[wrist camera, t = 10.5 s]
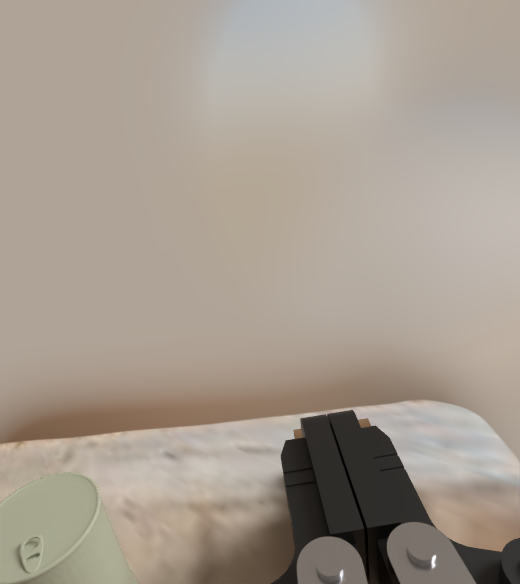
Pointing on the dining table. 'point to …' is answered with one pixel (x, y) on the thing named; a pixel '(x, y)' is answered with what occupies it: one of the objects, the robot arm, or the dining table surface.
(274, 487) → the dining table surface
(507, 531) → the dining table surface
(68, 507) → the can
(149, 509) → the dining table surface
